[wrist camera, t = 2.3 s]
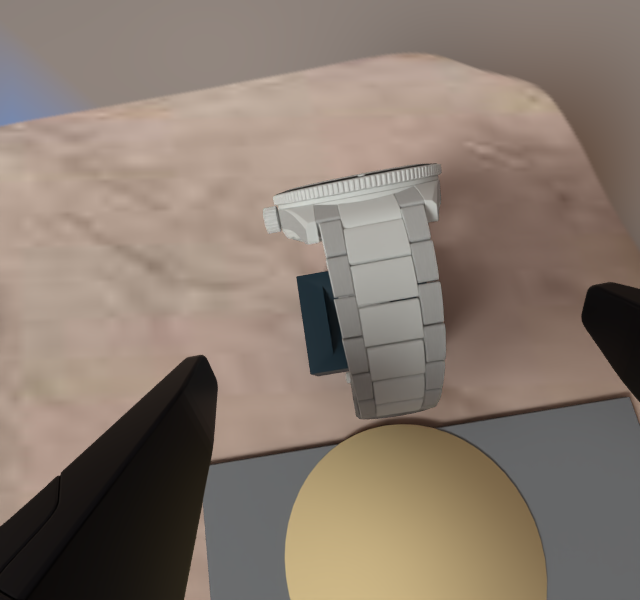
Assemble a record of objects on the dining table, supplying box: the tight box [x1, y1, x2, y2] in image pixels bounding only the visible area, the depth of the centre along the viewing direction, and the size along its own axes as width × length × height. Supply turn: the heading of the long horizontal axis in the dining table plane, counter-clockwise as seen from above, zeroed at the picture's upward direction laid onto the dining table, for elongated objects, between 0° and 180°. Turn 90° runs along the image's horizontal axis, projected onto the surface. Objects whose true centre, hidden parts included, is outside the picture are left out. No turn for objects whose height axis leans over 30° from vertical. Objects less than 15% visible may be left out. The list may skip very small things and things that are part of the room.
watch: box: [263, 163, 446, 419], centre depth 13 cm, size 6×8×11 cm
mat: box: [203, 397, 640, 600], centre depth 16 cm, size 12×20×1 cm, turn 99°
